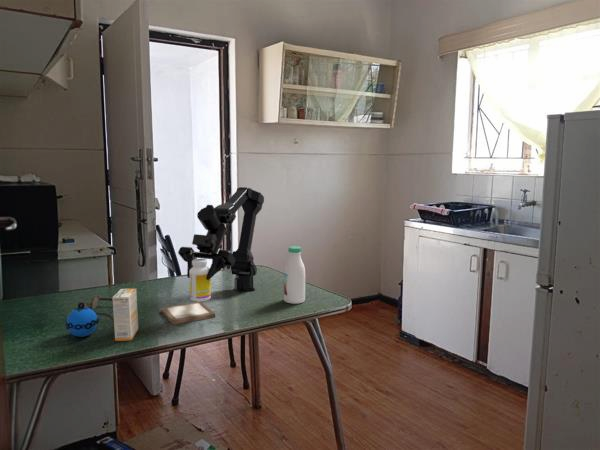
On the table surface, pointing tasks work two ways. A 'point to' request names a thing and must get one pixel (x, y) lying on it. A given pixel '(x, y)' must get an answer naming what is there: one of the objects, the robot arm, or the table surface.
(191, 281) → the supplement bottle
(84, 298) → the table surface
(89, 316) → the ornament
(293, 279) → the milk bottle
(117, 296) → the supplement box
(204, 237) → the robot arm
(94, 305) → the eyeglasses
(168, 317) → the walnut picture frame
